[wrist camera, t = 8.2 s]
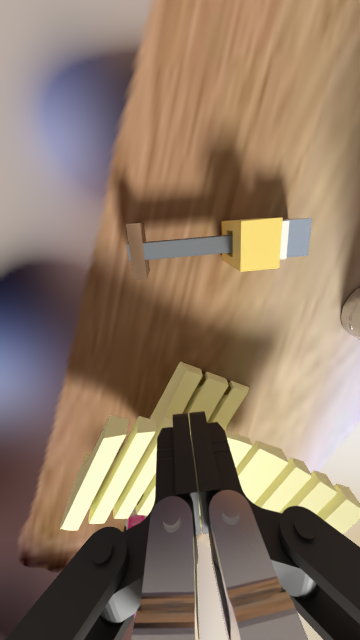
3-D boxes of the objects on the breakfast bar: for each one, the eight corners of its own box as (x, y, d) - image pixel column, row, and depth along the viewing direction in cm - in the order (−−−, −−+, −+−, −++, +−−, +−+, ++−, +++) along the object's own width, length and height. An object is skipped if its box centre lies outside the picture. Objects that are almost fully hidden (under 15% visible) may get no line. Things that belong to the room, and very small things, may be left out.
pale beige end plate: (273, 220, 30) (289, 220, 26) (271, 254, 31) (286, 259, 27) (265, 221, 30) (280, 221, 26) (263, 255, 31) (277, 259, 27)
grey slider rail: (297, 228, 29) (305, 229, 27) (296, 244, 30) (304, 246, 28) (128, 243, 29) (126, 244, 27) (131, 259, 29) (129, 261, 28)
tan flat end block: (143, 222, 31) (139, 223, 26) (149, 270, 33) (147, 278, 28) (131, 223, 31) (125, 224, 26) (138, 271, 33) (134, 279, 28)
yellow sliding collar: (252, 218, 31) (282, 217, 23) (251, 256, 33) (278, 268, 25) (221, 221, 31) (241, 221, 23) (222, 259, 33) (240, 271, 25)
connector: (288, 218, 32) (311, 218, 27) (285, 250, 34) (307, 255, 28) (265, 220, 32) (285, 220, 27) (264, 252, 33) (282, 257, 28)
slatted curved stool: (96, 418, 42) (53, 544, 26) (130, 342, 37) (103, 438, 21) (244, 462, 49) (285, 586, 32) (289, 402, 44) (366, 512, 27)
